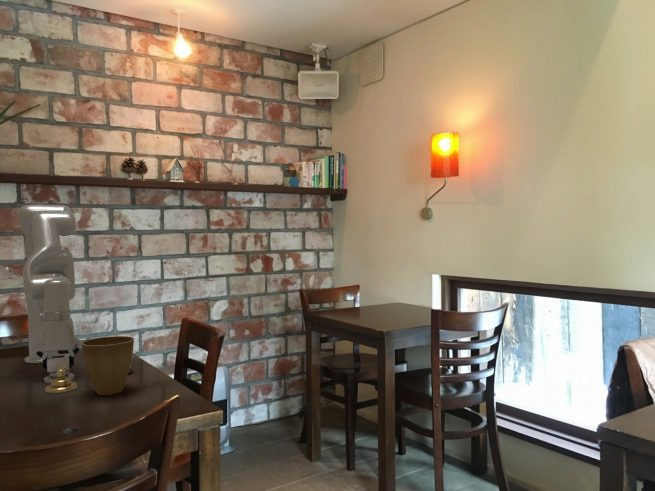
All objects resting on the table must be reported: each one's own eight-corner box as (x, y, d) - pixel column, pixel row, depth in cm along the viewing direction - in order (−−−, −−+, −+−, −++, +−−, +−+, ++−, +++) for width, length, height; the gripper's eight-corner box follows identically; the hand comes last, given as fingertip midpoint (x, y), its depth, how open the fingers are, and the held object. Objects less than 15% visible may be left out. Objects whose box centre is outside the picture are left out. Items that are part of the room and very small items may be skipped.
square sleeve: (48, 367, 179) (48, 355, 179) (69, 364, 182) (69, 353, 181) (47, 372, 173) (46, 360, 173) (69, 369, 176) (68, 357, 175)
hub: (56, 384, 171) (55, 365, 171) (82, 384, 170) (82, 365, 170) (38, 393, 162) (38, 373, 162) (66, 393, 161) (66, 373, 161)
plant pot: (145, 388, 165) (144, 338, 165) (104, 402, 152) (102, 347, 152) (114, 382, 173) (113, 333, 172) (72, 394, 160) (71, 342, 160)
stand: (54, 375, 182) (54, 357, 182) (79, 375, 181) (79, 358, 181) (38, 383, 173) (37, 364, 173) (64, 383, 172) (63, 364, 172)
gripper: (26, 320, 169) (28, 375, 170) (85, 315, 177) (87, 368, 177) (28, 316, 176) (30, 369, 177) (85, 312, 183) (87, 363, 184)
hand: (58, 368), depth 177 cm, fingers closed on square sleeve, 6 cm apart
